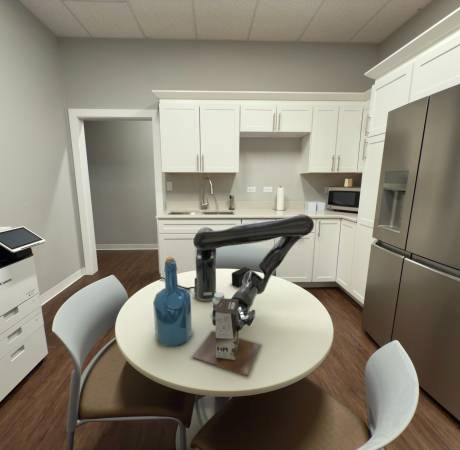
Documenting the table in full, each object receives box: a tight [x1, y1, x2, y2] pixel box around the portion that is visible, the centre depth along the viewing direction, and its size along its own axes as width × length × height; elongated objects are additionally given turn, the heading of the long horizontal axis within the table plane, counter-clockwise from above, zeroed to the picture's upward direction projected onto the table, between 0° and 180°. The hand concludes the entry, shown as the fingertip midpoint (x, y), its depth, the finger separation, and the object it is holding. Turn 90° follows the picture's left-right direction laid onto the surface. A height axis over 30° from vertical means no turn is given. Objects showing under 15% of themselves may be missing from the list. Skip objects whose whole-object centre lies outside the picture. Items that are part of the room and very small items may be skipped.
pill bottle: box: [212, 291, 226, 310], centre depth 102 cm, size 5×5×10 cm
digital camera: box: [231, 267, 251, 288], centre depth 131 cm, size 10×5×7 cm, turn 136°
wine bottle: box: [152, 256, 193, 347], centre depth 88 cm, size 14×13×30 cm
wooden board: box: [193, 331, 260, 377], centre depth 83 cm, size 18×14×1 cm
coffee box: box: [215, 297, 240, 360], centre depth 81 cm, size 9×6×16 cm
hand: (225, 326), depth 78 cm, fingers closed on coffee box, 7 cm apart
